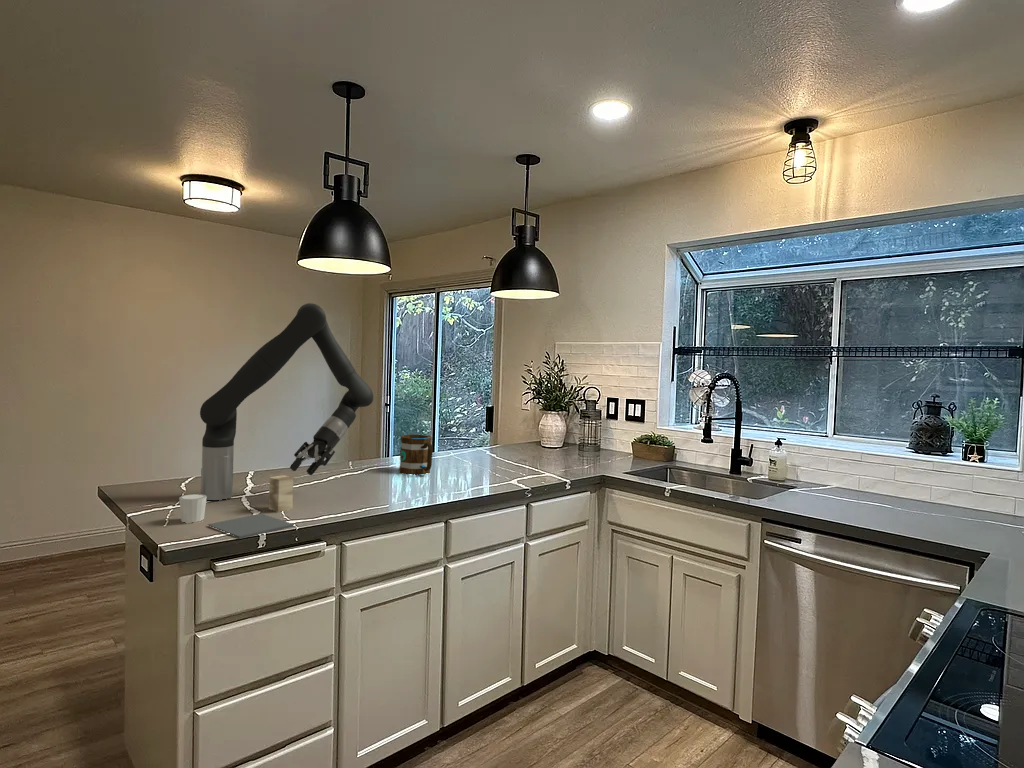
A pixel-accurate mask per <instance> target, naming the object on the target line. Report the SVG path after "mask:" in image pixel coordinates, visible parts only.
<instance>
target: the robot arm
mask: <svg viewBox="0 0 1024 768" xmlns="http://www.w3.org/2000/svg"><path fill="white" fill-rule="evenodd" d="M326 316H327V315H326V313H325V311H324V309H323V308H322V307H321V306H320V305H318V304H316V303H313V302H310V303H305V304H303V305H301V306H300V307H299V309H298V310H297V312H296V315H295V316H294V317H293V319H292V320H291V321H290V322H289V324H288V325H287V326H286V327H285V328H284V329H283V330H282V331H281V332H279V333H278V334H277V335H276V336H274V337H273V338H272V339H270V340H268V342H266V343H265V344H264V345H262V346H261V347H260V348H259V349H258V350H257V351H255V352H254V354H253V355H252V356H250V358H249V359H247V360H246V362H245V363H244V364H243V365H242V366H241V367H240V368H239V369H238V371H236V373H235V374H234V375H233V376H232V378H231V379H230V380H229V381H228V382H227V383H226V384H225V385H224V386H222V387H221V388H220V389H219V390H218V391H217V392H215V393H214V394H213V395H211V396H210V397H208V398H207V399H205V401H204V402H203V403H202V405H201V407H200V411H199V415H200V416H199V417H200V418H201V420H202V422H203V423H204V424H205V432H204V435H203V437H202V442H201V443H202V449H201V450H202V451H201V453H202V454H201V468H200V494H203V495H206V496H207V498H206V501H207V500H219V501H223V500H222V499H226V500H228V499H227V498H230V499H231V497H232V496H233V487H234V451H235V450H234V449H235V445H234V444H235V438H236V434H237V433H236V432H237V419H238V418H237V415H238V411H237V410H238V409H237V408H238V407H239V406H240V405H241V403H243V402H244V401H245V400H246V399H247V398H249V396H251V395H252V394H253V393H254V392H256V391H257V390H259V389H261V387H263V386H264V385H265V384H266V383H268V382H269V381H270V380H272V379H273V377H275V376H276V374H278V373H279V371H280V370H281V369H283V367H285V366H286V364H287V363H288V362H289V361H290V359H291V358H292V357H293V356H294V354H295V353H296V352H298V350H299V349H300V347H302V346H303V345H304V344H305V343H306V342H307V341H309V340H310V339H312V340H313V341H314V343H315V344H316V346H317V347H318V349H319V351H320V352H321V354H322V356H323V359H324V360H325V362H326V364H327V366H328V368H329V370H330V372H331V373H332V375H333V376H334V378H335V380H336V381H337V383H338V384H339V385H340V386H341V387H345V388H347V391H346V392H345V394H344V395H343V396H342V399H341V401H340V403H339V404H338V407H337V408H335V411H334V412H333V413H332V414H331V416H330V417H328V418H327V419H326V421H325V422H324V423H323V424H322V425H321V427H320V428H319V429H318V430H317V431H316V433H315V434H314V435H313V441H312V442H310V443H309V442H307V441H305V442H303V444H302V445H301V446H300V447H299V449H297V450H296V451H295V453H294V454H293V457H295V460H294V461H293V462H292V463H291V464H290V466H289V468H290V470H291V471H292V472H296V471H297V470H298V468H299V467H300V466H301V465H302V463H304V462H305V461H306V460H310V459H314V461H313V462H312V463H311V465H310V466H308V468H307V470H306V473H307V474H308V475H309V476H312V475H314V473H315V472H316V471H317V470H318V469H319V468H320V467H322V466H323V467H325V466H326V465H328V463H329V462H330V460H331V459H332V458H333V456H334V454H335V453H336V451H335V449H334V448H335V447H336V446H337V445H338V443H339V442H340V440H341V439H342V438H343V437H344V436H345V434H346V432H347V430H348V429H349V428H350V427H351V425H352V424H353V423H354V421H355V420H356V417H357V414H356V411H357V410H359V408H365V407H368V406H370V405H372V403H373V401H374V394H373V393H374V392H373V390H372V388H371V387H370V386H369V384H368V383H367V382H366V381H365V380H364V379H363V378H362V376H360V375H359V374H358V372H357V371H356V369H355V367H354V366H353V364H352V363H351V361H350V359H349V358H348V356H347V355H346V353H345V351H344V349H342V347H341V346H340V344H339V342H338V341H337V340H336V338H335V337H334V335H333V333H332V330H331V328H330V326H329V323H328V321H327V317H326ZM232 498H233V497H232Z"/></svg>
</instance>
